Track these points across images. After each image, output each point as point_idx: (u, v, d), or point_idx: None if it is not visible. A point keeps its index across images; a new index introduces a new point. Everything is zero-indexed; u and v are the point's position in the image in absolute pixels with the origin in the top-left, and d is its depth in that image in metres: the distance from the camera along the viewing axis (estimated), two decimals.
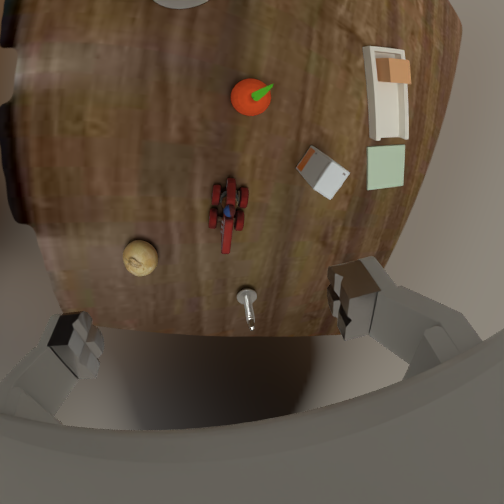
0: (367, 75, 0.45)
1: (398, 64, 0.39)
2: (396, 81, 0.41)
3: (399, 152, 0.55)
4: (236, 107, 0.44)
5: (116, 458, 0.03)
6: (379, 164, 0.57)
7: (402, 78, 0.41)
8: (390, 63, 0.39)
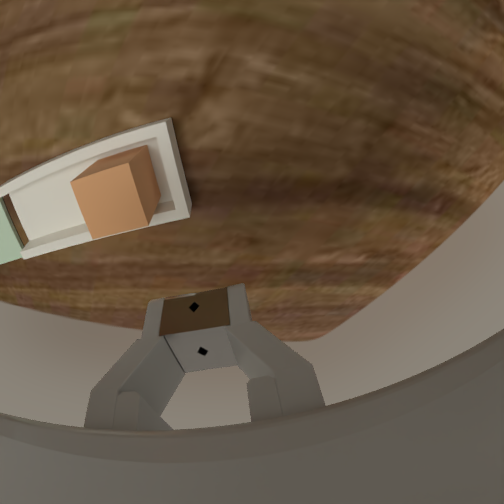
0: (103, 138, 0.21)
1: (121, 194, 0.19)
2: (79, 197, 0.18)
3: (12, 248, 0.25)
4: None
5: (116, 458, 0.03)
6: None
7: (93, 213, 0.19)
8: (116, 172, 0.18)
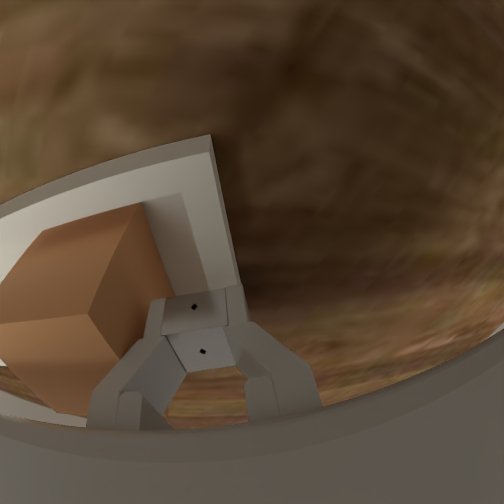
0: (57, 182, 0.09)
1: (89, 372, 0.06)
2: (2, 355, 0.06)
3: None
4: None
5: (116, 458, 0.03)
6: None
7: (41, 385, 0.07)
8: (61, 330, 0.05)
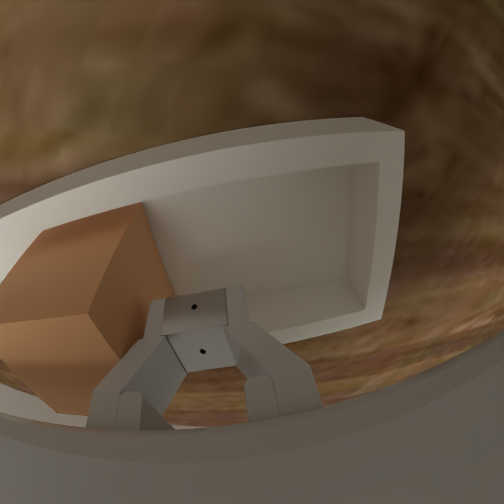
0: (204, 139, 0.09)
1: (89, 371, 0.06)
2: (2, 355, 0.06)
3: None
4: None
5: (116, 458, 0.03)
6: None
7: (41, 385, 0.07)
8: (61, 329, 0.05)
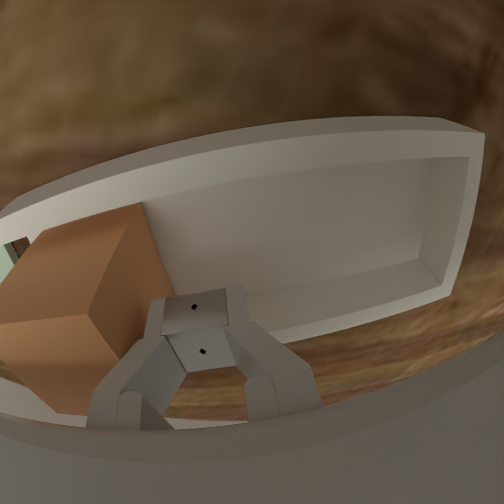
0: (328, 121, 0.09)
1: (89, 371, 0.06)
2: (2, 356, 0.06)
3: None
4: None
5: (116, 458, 0.03)
6: None
7: (41, 385, 0.07)
8: (61, 330, 0.05)
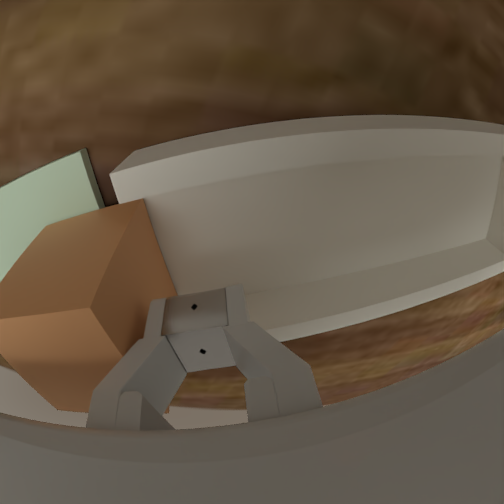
0: (450, 120, 0.10)
1: (90, 367, 0.06)
2: (3, 351, 0.06)
3: None
4: None
5: (116, 458, 0.03)
6: (33, 239, 0.10)
7: (42, 382, 0.07)
8: (63, 324, 0.05)
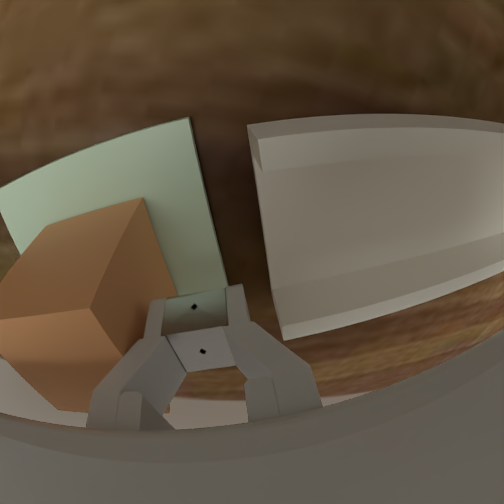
0: (499, 124, 0.10)
1: (90, 367, 0.06)
2: (3, 352, 0.06)
3: None
4: None
5: (116, 458, 0.03)
6: None
7: (42, 382, 0.07)
8: (63, 325, 0.05)
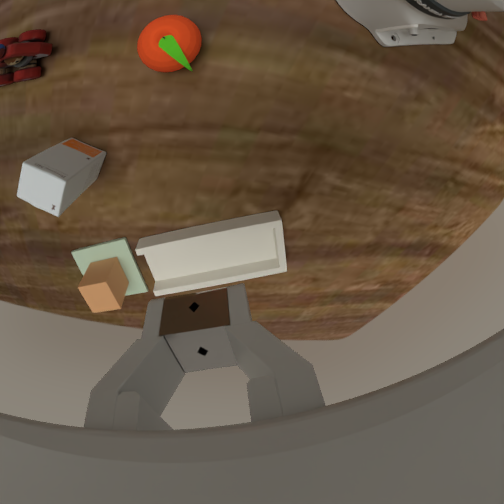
0: (232, 221, 0.39)
1: (104, 294, 0.36)
2: (83, 294, 0.35)
3: (135, 286, 0.43)
4: (150, 22, 0.20)
5: (116, 458, 0.03)
6: None
7: (92, 301, 0.36)
8: (101, 285, 0.35)
